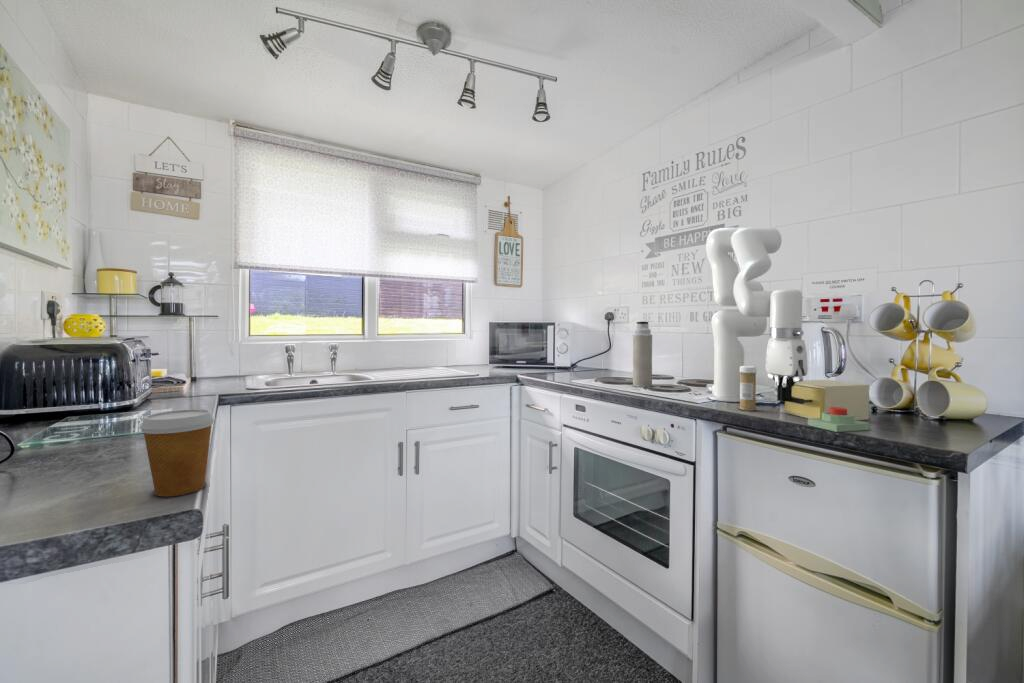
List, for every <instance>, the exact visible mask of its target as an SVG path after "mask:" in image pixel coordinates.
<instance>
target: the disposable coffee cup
mask: <svg viewBox="0 0 1024 683" xmlns="http://www.w3.org/2000/svg"><path fill="white" fill-rule="evenodd" d="M142 417H143V418H142V420H141V424H140V425H139V429H140V430H141V433H143V436H144V442H145V448H146V453H147V458H148V463H149V468H150V474H151V478H152V485H153V489H154V495H155V496H157V497H167V498H169V497H177V496H183V495H187V494H191V493H194V492H197V491H199V490H201V489H203V488H204V487H205V485H206V477H207V468H208V462H209V461H208V460H209V453H210V443H211V435H212V428H213V425H214V422H215V420H216V417H215V416H214V415H213V412H212V410H211V409H207V408H205V409H204V408H194V409H193V408H190V409H189V408H188V409H176V410H167V411H162V412H160V411H159V412H156V413H151V414H147V415H145V416H142Z"/></svg>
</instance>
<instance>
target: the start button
mask: <svg viewBox="0 0 1024 683" xmlns="http://www.w3.org/2000/svg"><path fill="white" fill-rule="evenodd" d="M829 414H833V415H847V409H845V408H839V407H830V408H829Z"/></svg>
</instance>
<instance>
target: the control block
mask: <svg viewBox="0 0 1024 683" xmlns="http://www.w3.org/2000/svg"><path fill="white" fill-rule="evenodd" d="M807 426H809V427H810V426H811V427H814V428H817V429H818V428H819V429H823V430H827V431H832V432H834V433H842V432H856V431H869V430H870V422H866V421H863V420H855V415H853V414H850V413H847V415H833V414H829V411H826V412H822V418H812V419H810V418H807Z"/></svg>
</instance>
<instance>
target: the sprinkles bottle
mask: <svg viewBox="0 0 1024 683" xmlns="http://www.w3.org/2000/svg"><path fill="white" fill-rule="evenodd" d="M757 373H758V372H757V366H752V365H744V366H740V402H739V409H740V410H741V411H747V412H754V411H756V410H757V407H756V405H757V404H756V402H757V401H756V400H757V389H756V388H757V384H756V383H757Z"/></svg>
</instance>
